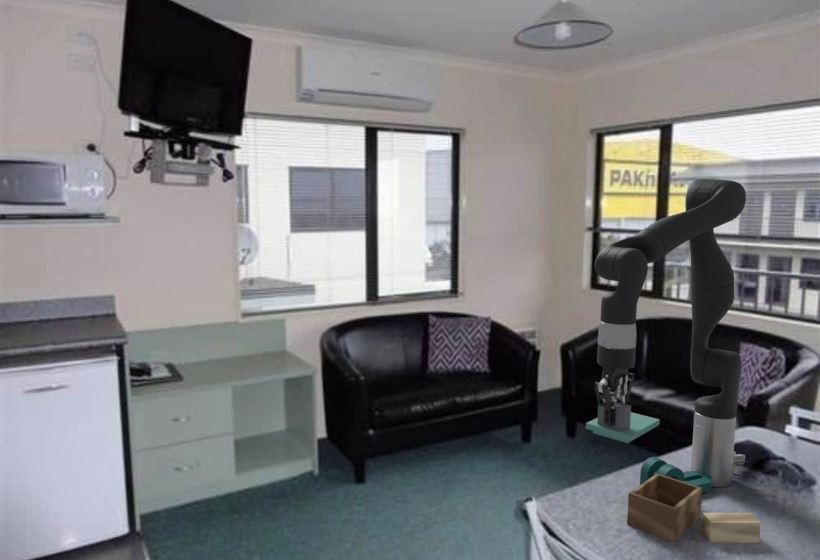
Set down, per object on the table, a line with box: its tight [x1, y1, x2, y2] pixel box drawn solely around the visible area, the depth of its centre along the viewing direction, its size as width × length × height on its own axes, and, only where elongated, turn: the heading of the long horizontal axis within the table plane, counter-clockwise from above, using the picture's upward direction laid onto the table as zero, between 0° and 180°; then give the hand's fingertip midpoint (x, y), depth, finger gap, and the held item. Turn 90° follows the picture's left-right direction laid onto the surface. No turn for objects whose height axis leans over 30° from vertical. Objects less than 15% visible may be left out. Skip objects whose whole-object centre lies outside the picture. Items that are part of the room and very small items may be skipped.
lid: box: [585, 402, 661, 444], centre depth 130 cm, size 14×10×7 cm
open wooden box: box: [626, 473, 703, 543], centre depth 130 cm, size 14×10×7 cm
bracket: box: [639, 456, 713, 494], centre depth 144 cm, size 18×7×8 cm, turn 112°
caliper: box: [732, 451, 746, 475], centre depth 158 cm, size 20×1×6 cm, turn 124°
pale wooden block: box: [700, 512, 761, 544], centre depth 124 cm, size 4×10×4 cm, turn 90°
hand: (612, 422), depth 127 cm, fingers closed on lid, 2 cm apart
